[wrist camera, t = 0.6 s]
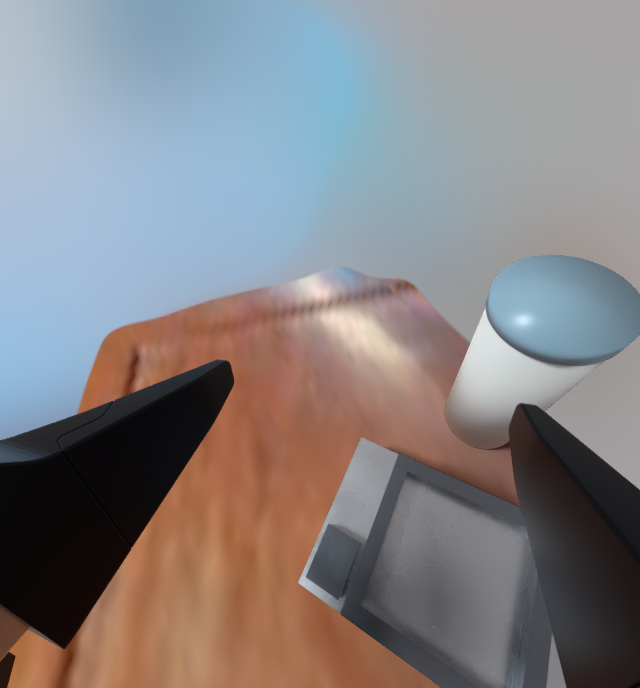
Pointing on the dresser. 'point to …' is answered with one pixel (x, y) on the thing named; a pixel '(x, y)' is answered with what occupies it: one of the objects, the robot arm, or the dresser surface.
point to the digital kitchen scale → (435, 574)
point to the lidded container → (538, 341)
